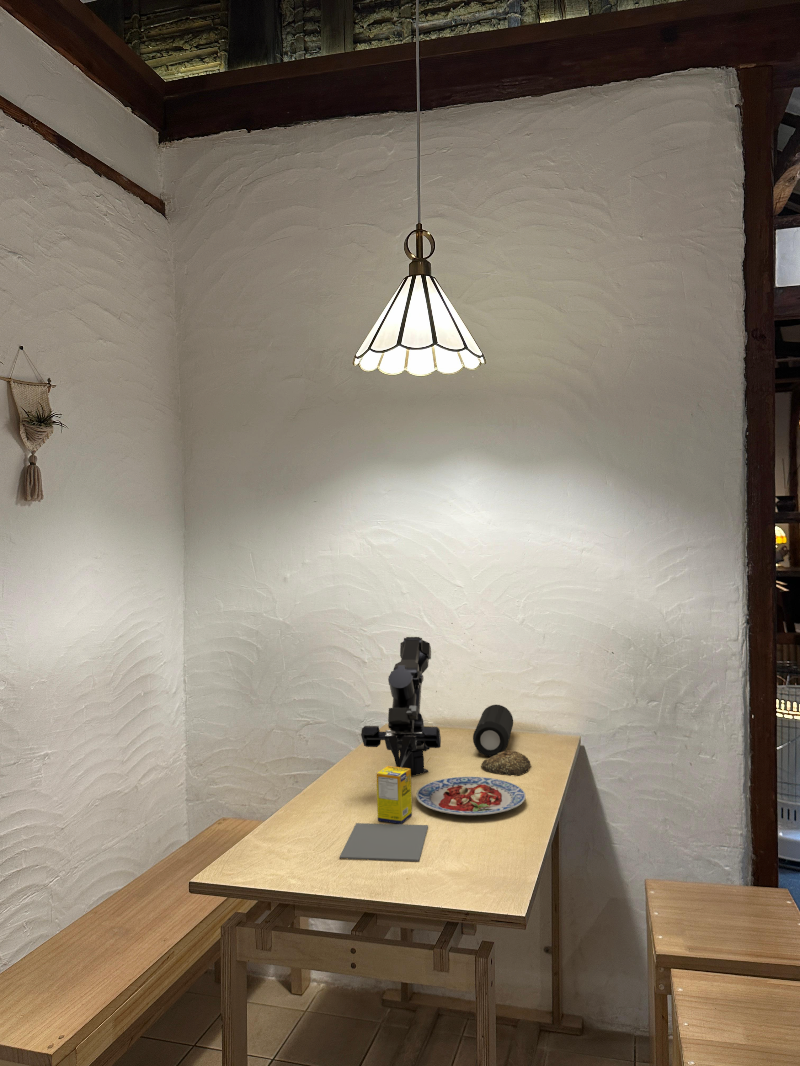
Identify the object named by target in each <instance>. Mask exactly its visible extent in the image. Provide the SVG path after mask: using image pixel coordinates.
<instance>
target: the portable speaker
mask: <svg viewBox="0 0 800 1066" xmlns="http://www.w3.org/2000/svg"><path fill="white" fill-rule="evenodd" d="M513 726H514V717H513V714H512V713H511V711H510V710H509V709H508V708H507V707H505V706H504V705H501V704H491V705H489V706H486V708H485V709H484V710H483V711H482V713H481V716H480V719H479V720H478V723H477V725H476V727H475V730H474V731H473V735H472V741H473V745H474V747H475V749H476V750H477V751H478V752H479V753H480V754H482V755H483V756H486V757H492V756H495V755H497V754H498V753H500V752H503V751H506V749H507V748H508V744H509V741H510V738H511V734H512V730H513Z"/></svg>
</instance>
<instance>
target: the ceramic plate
mask: <svg viewBox="0 0 800 1066" xmlns="http://www.w3.org/2000/svg"><path fill="white" fill-rule="evenodd" d="M415 795H416V796H415V797H416V800H417V801H418V802H419V803H420V804H421V806H424V807H426V808H427V809H430V810H433V811H435V812H440V813H445V814H451V815H458V816H485V815H487V816H488V815H494V814H498V813H503V812H508V811H511V810H512V809H513V810H514V809H515V808H518V807H519V806H520V805H522V804H524V802H525V800H526V797H527V796H526V792H525V791H524V790H523V789H522V788H521V787H520V786H518V785H517V784H514V783H512V782H509V781H507V780H504V779H503V780H502V779H498V778H492V777H486V776H485V777H484V776H455V777H447V778H441V779H438V780H433V781H431V782H428V783H426V784H424V785H422V786H421V787H420V788H419V789H418V790H417V791H416V794H415Z"/></svg>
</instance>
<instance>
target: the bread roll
mask: <svg viewBox="0 0 800 1066" xmlns="http://www.w3.org/2000/svg"><path fill="white" fill-rule="evenodd" d="M531 765H532V764H531V760H530V759H529V758H528V757H527V756H526V755H525V754H523V753H521V752H518V751H516V750H510V749H509V750H508V749H507V750H504V751H503V752H500V753H498V754H497V755H495V756H490V757H489V758H485V759H484V760H483V761H482V763H481V765H480V767H481V770H483V771H485V772H488V773H494V774H499V775H504V774H508V775H507V776H511V775H517V776H520V774H521V775H523V773H524V774H525V773H527V772H529V771H530V768H531ZM528 770H529V771H528ZM526 771H527V772H526Z"/></svg>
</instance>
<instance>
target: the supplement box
mask: <svg viewBox="0 0 800 1066" xmlns="http://www.w3.org/2000/svg"><path fill="white" fill-rule="evenodd" d="M376 803H377V821H378V822H383V821H384V823H389V824H403V823H404V822H406V821H407V820H409V819H410V818H411V817H412V815H413V813H412V812H413V811H412V807H413V805H412V803H413V802H412V776H411V769H409V768H401V767H396V766H390V765H387V766H385V767H384V768H382V769H380V770H379V771H378V772H377V773H376Z"/></svg>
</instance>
